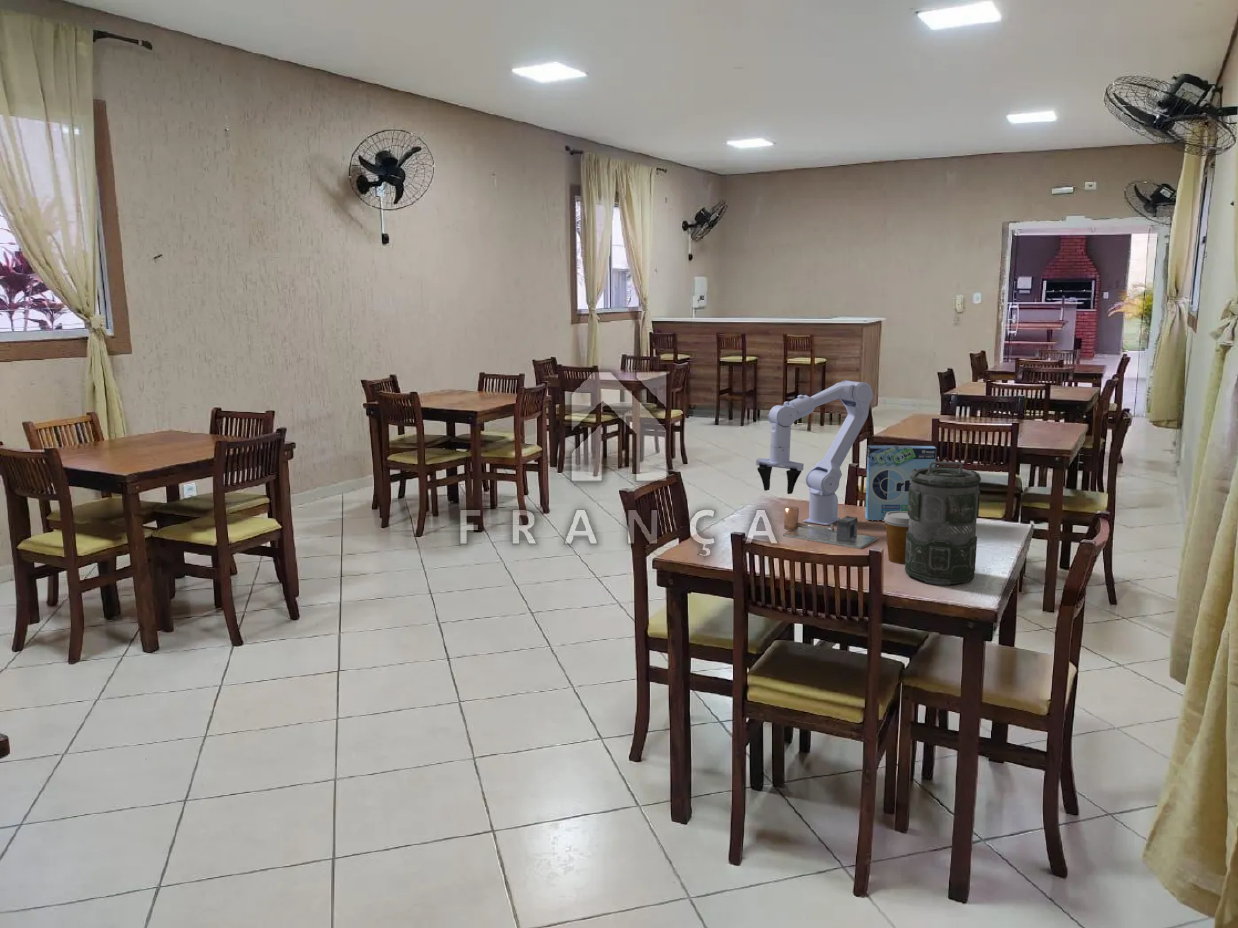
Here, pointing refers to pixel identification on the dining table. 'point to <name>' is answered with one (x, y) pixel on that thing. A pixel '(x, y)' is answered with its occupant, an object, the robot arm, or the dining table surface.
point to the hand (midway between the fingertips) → (778, 491)
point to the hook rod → (793, 524)
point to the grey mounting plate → (835, 534)
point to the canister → (942, 524)
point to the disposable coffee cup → (896, 534)
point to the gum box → (892, 476)
